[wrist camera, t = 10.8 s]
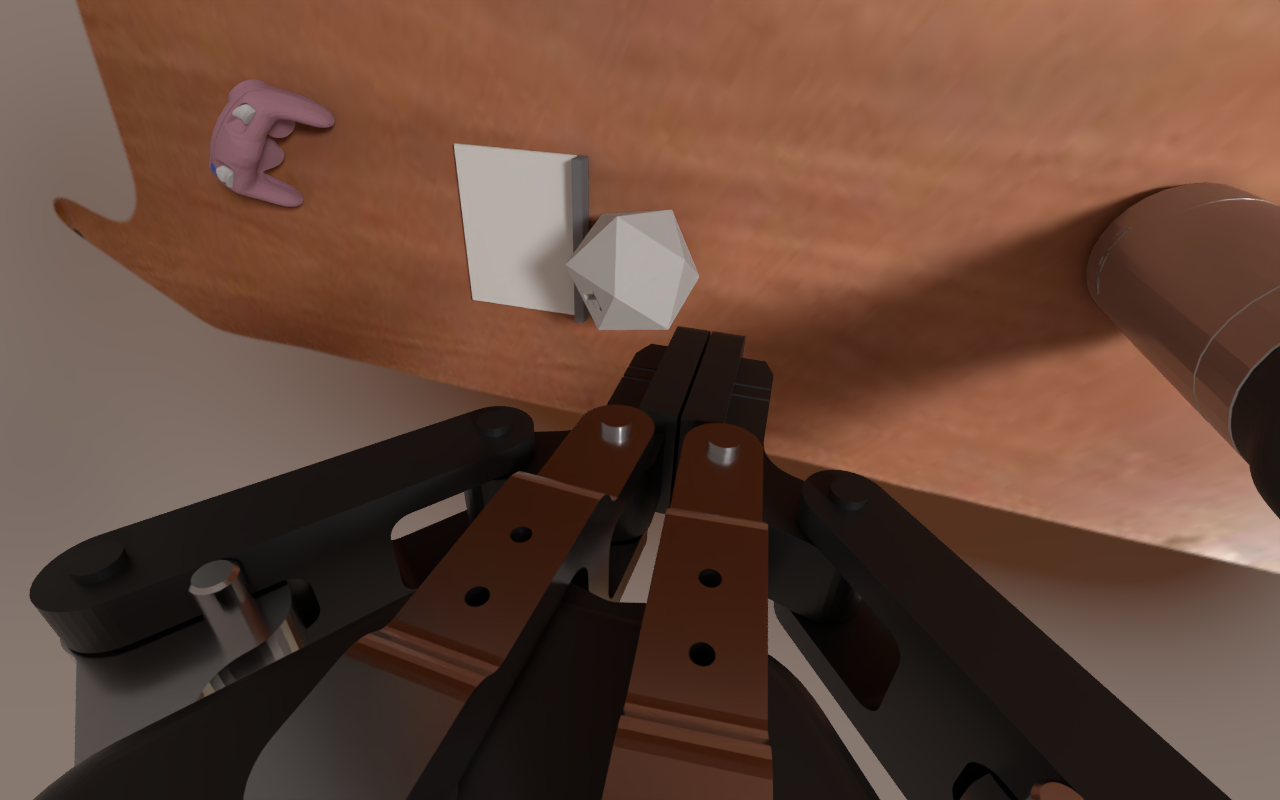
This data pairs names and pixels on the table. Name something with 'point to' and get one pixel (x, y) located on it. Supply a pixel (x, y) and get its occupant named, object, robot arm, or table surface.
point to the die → (633, 270)
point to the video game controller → (260, 139)
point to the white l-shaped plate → (523, 225)
